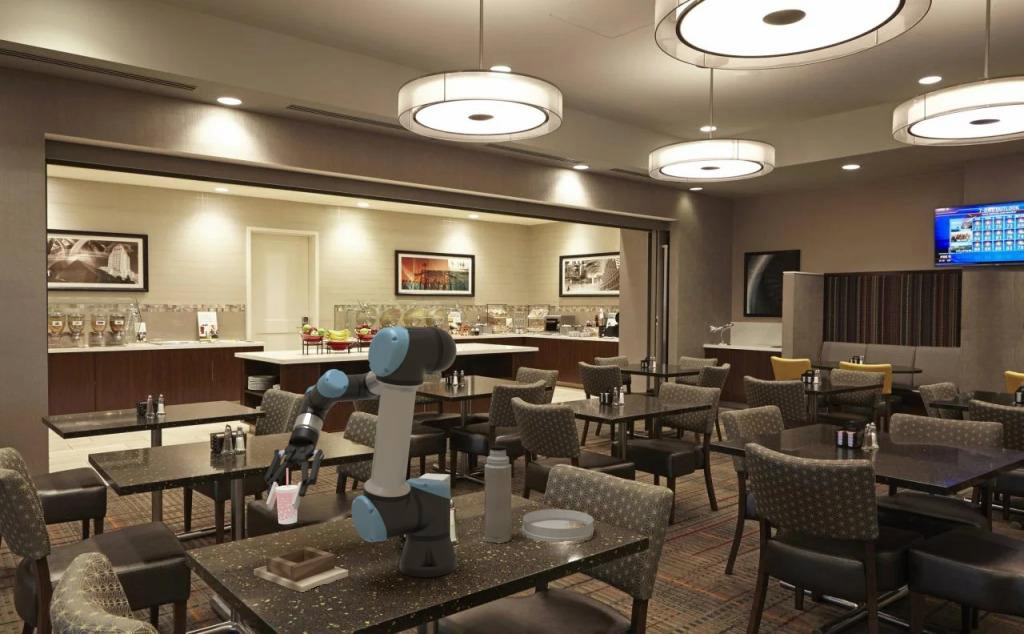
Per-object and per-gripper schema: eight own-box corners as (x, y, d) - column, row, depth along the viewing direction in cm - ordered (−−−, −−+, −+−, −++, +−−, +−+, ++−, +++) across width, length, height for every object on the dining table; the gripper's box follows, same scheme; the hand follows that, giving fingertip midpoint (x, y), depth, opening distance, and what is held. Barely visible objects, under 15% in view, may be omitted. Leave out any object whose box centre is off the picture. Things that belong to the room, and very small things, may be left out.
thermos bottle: (480, 542, 208) (481, 447, 208) (489, 534, 216) (489, 443, 216) (506, 545, 206) (506, 449, 206) (514, 537, 213) (514, 444, 213)
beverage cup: (292, 517, 189) (292, 465, 189) (304, 521, 185) (303, 468, 185) (271, 522, 185) (270, 468, 185) (282, 526, 180) (281, 471, 181)
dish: (508, 538, 213) (508, 521, 213) (543, 520, 232) (544, 505, 232) (574, 550, 202) (574, 533, 202) (605, 531, 220) (605, 515, 220)
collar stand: (348, 576, 180) (348, 556, 180) (302, 593, 169) (302, 572, 169) (299, 560, 192) (299, 542, 192) (253, 575, 181) (253, 555, 181)
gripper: (342, 441, 200) (321, 514, 183) (277, 442, 201) (251, 514, 185) (335, 425, 194) (313, 498, 178) (269, 425, 196) (241, 498, 180)
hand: (281, 506), depth 181 cm, fingers closed on beverage cup, 6 cm apart
